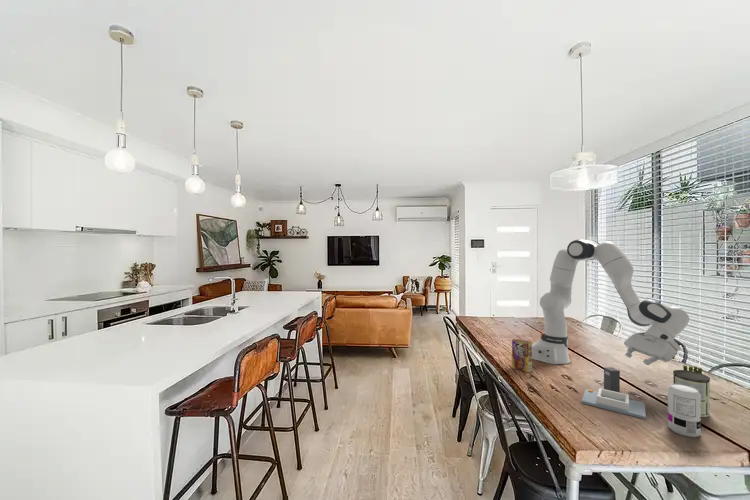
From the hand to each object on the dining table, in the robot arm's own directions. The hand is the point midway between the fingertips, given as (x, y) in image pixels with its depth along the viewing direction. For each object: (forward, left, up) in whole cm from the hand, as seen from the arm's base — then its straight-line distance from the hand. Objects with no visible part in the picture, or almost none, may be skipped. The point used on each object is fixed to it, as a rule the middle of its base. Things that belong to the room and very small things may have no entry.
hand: (636, 360), depth 142 cm
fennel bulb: (+20, +14, -14) cm, 28 cm away
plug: (-8, -7, -14) cm, 18 cm away
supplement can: (+13, -30, -14) cm, 36 cm away
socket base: (-7, -21, -14) cm, 27 cm away
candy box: (-46, -4, -14) cm, 49 cm away
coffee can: (+17, -8, -14) cm, 23 cm away
